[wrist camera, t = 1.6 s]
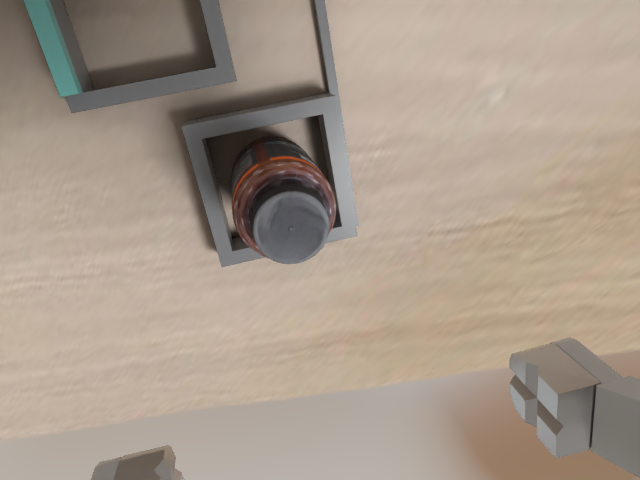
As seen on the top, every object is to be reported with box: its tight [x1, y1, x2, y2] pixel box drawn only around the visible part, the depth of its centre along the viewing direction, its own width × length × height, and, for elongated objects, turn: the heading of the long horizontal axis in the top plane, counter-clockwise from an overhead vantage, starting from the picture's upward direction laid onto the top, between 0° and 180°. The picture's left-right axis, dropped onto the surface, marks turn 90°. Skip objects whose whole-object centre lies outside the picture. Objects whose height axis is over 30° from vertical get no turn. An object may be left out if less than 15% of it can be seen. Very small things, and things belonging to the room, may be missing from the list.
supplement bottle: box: [231, 137, 336, 264], centre depth 29 cm, size 6×6×11 cm
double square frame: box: [24, 0, 359, 267], centre depth 30 cm, size 17×22×3 cm
